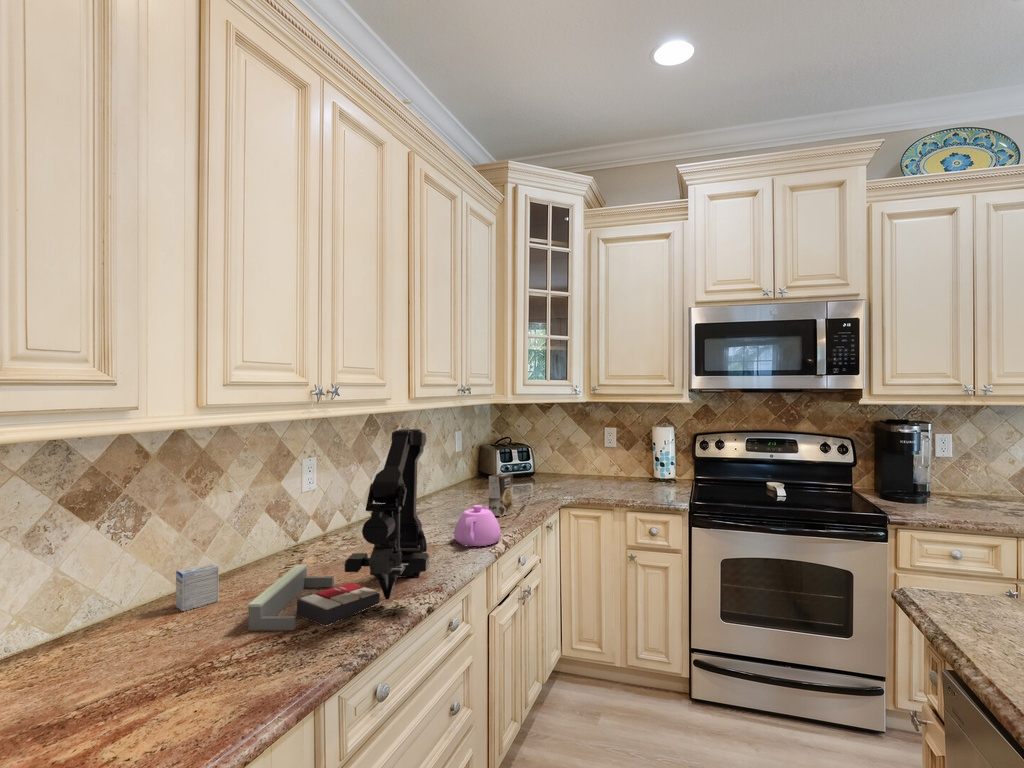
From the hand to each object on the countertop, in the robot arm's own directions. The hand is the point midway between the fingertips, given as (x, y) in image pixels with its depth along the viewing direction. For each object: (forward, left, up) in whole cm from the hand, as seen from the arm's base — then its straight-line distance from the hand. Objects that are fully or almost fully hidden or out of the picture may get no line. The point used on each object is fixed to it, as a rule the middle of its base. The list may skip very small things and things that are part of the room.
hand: (387, 599), depth 128 cm
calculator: (+2, -11, -2) cm, 11 cm away
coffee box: (-93, +25, -2) cm, 96 cm away
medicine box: (-1, -45, -2) cm, 45 cm away
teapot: (-54, +18, -2) cm, 57 cm away
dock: (0, -22, -2) cm, 22 cm away
